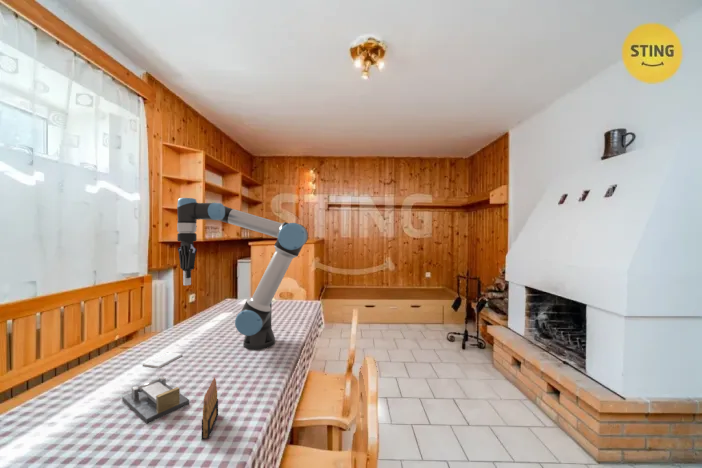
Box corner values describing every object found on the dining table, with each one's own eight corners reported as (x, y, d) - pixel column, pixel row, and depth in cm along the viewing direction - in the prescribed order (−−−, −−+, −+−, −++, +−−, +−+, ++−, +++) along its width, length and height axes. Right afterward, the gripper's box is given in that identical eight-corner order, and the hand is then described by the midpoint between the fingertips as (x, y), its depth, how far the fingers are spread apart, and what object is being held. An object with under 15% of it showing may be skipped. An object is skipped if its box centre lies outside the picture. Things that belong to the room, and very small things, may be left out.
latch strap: (137, 385, 97) (155, 400, 88) (157, 378, 101) (176, 391, 93) (137, 391, 97) (155, 406, 88) (157, 384, 101) (176, 397, 93)
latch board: (122, 401, 96) (122, 381, 96) (162, 385, 106) (162, 367, 106) (146, 424, 85) (146, 401, 85) (189, 404, 95) (189, 384, 95)
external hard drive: (182, 357, 132) (158, 369, 120) (167, 355, 134) (142, 367, 122) (182, 353, 132) (158, 365, 120) (167, 351, 134) (142, 363, 122)
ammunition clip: (211, 415, 89) (211, 376, 89) (218, 414, 89) (218, 375, 89) (201, 439, 78) (201, 395, 78) (208, 438, 79) (208, 394, 79)
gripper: (202, 232, 130) (202, 285, 130) (188, 232, 138) (188, 282, 138) (185, 232, 124) (185, 287, 124) (171, 232, 132) (171, 284, 132)
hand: (187, 284), depth 131 cm, fingers closed
